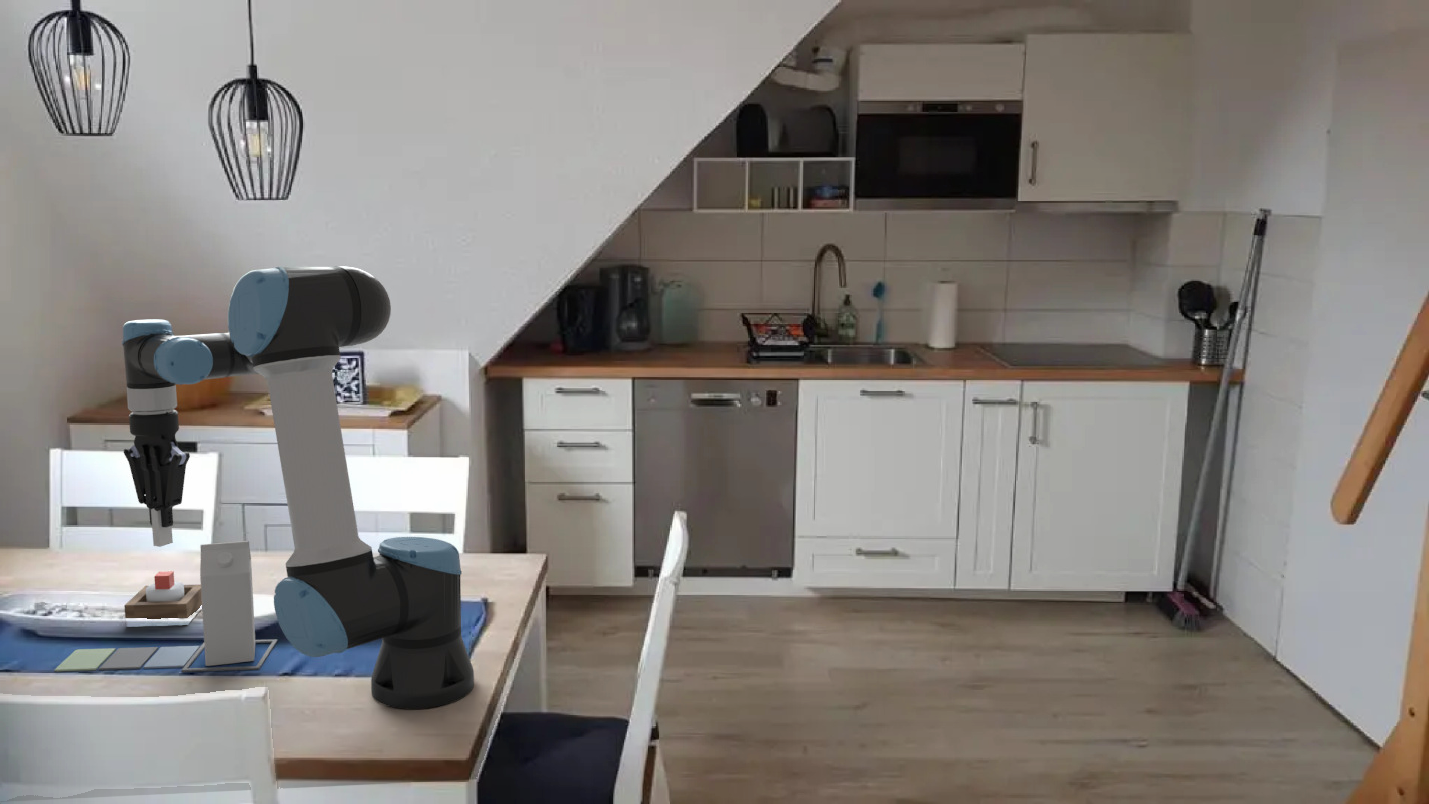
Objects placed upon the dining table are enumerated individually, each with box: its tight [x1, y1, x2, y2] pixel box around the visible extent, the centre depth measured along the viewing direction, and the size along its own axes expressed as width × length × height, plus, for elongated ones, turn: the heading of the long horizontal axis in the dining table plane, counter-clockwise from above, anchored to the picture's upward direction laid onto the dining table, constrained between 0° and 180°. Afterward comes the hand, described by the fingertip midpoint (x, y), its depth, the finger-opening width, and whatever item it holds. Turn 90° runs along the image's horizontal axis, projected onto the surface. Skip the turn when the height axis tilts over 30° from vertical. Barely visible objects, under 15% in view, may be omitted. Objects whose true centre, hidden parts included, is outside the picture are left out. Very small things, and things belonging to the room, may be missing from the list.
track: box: [54, 639, 278, 673], centre depth 179 cm, size 12×31×1 cm, turn 98°
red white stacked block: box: [146, 570, 185, 602], centre depth 196 cm, size 6×6×6 cm
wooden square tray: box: [123, 583, 202, 619], centre depth 196 cm, size 10×10×4 cm
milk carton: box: [199, 540, 256, 667], centre depth 179 cm, size 7×7×19 cm
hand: (163, 544), depth 194 cm, fingers closed
